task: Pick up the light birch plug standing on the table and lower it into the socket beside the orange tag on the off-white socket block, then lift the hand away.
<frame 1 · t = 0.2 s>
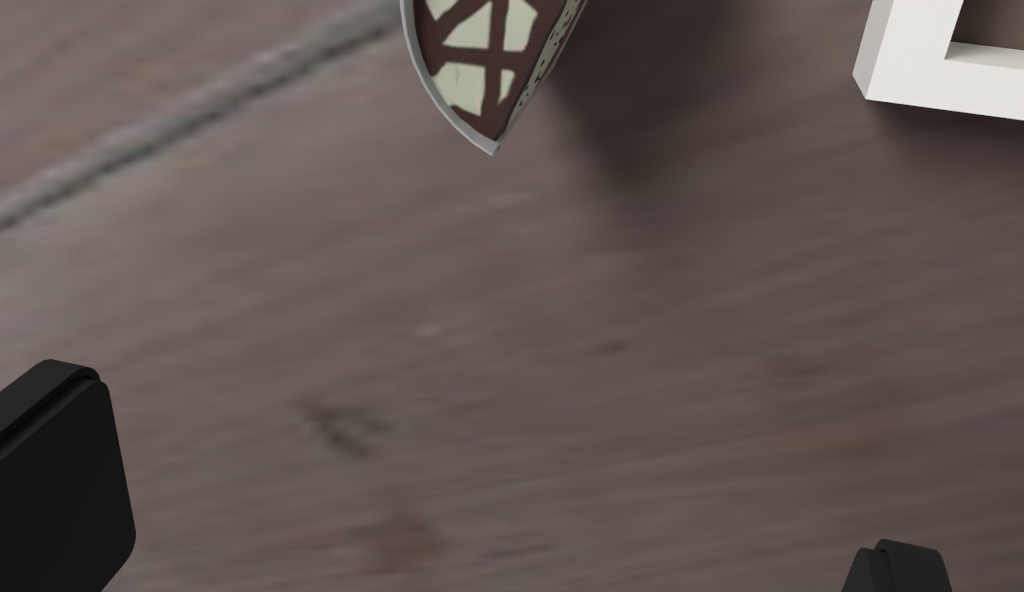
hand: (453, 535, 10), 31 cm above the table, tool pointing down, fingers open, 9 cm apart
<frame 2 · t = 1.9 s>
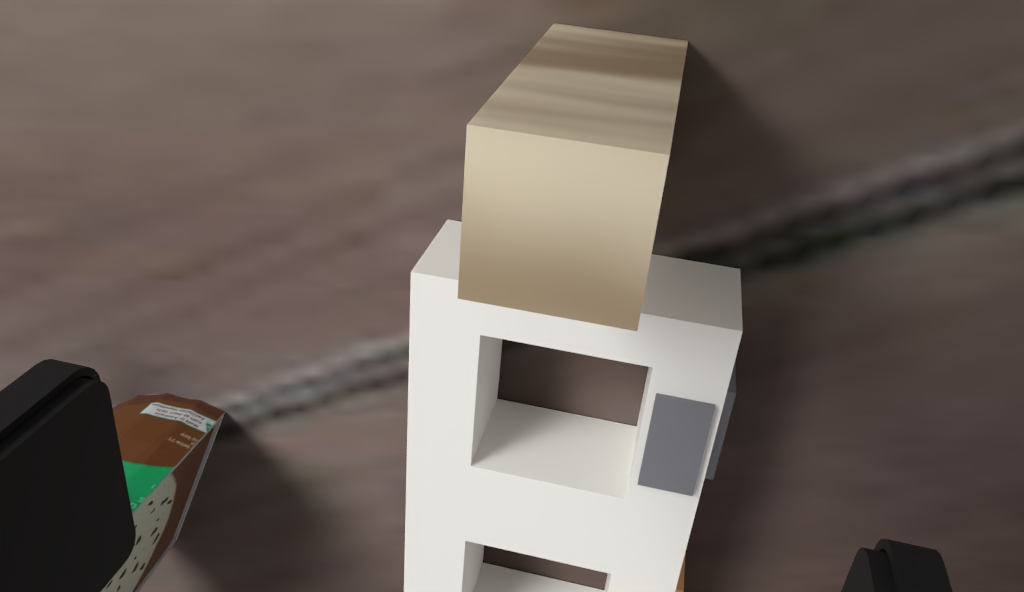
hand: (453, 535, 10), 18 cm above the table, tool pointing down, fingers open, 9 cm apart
food container: (141, 445, 38), on the table
plug: (610, 98, 26), on the table
socket block: (561, 448, 33), on the table
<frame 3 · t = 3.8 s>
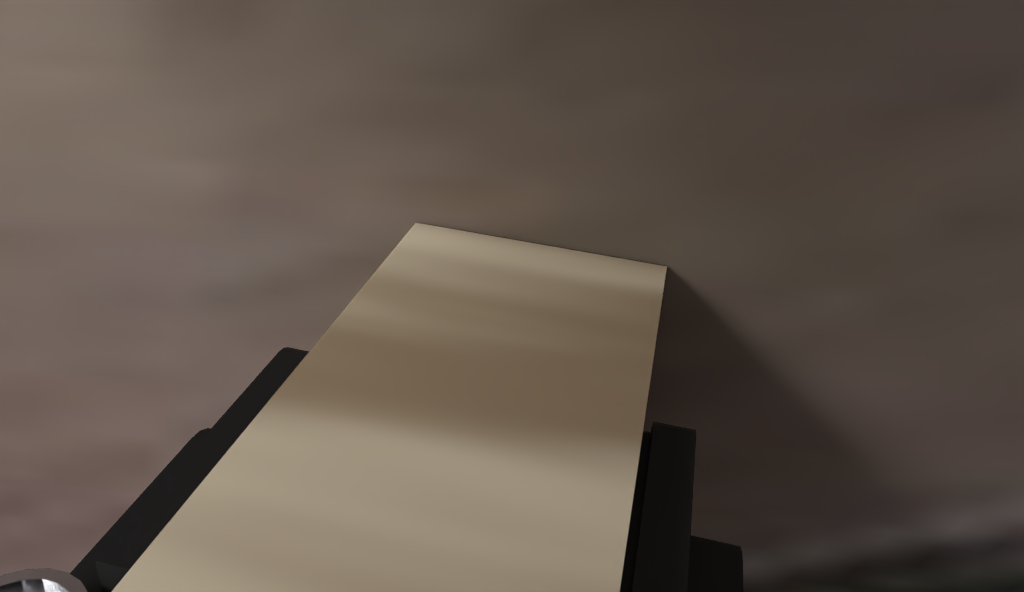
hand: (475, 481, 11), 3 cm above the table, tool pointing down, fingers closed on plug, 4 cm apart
plug: (526, 351, 14), on the table, touching gripper
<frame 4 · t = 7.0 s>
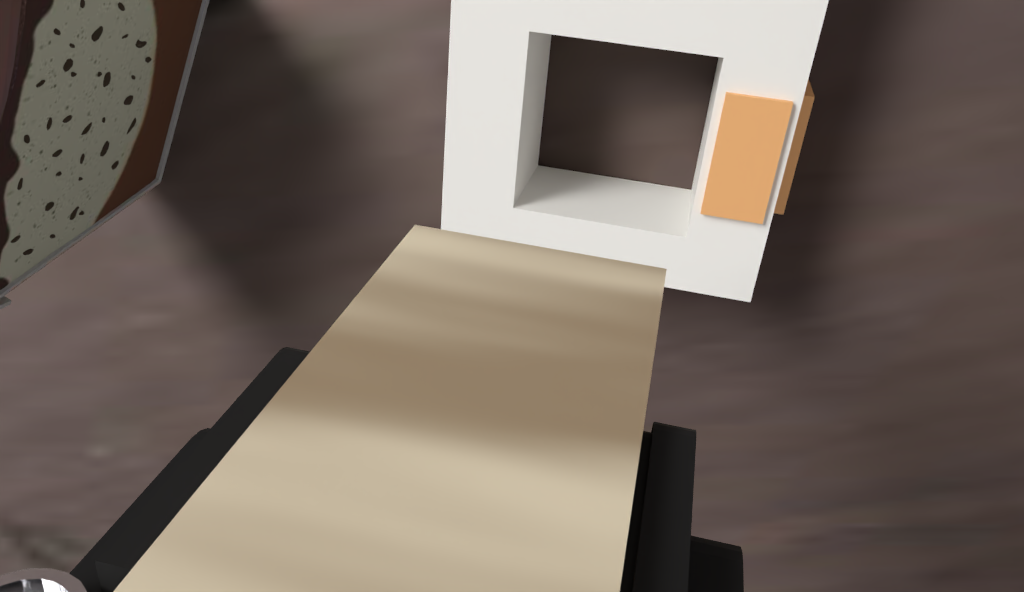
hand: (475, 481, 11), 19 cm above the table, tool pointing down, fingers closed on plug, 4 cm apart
food container: (117, 38, 31), on the table
plug: (526, 353, 14), point 16 cm above the table, touching gripper
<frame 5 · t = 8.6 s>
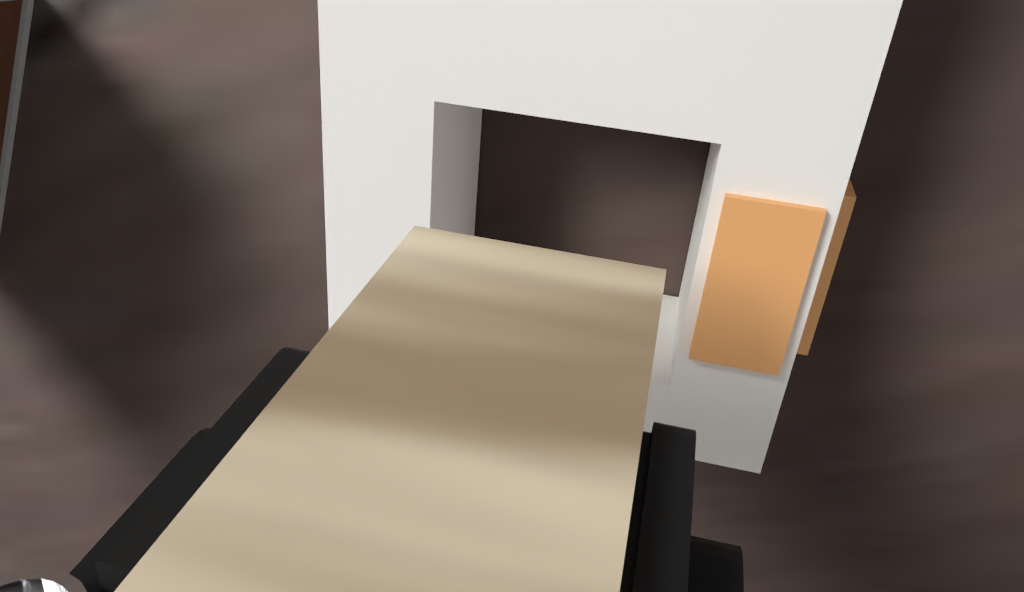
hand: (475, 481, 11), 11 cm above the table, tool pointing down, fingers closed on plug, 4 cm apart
plug: (525, 354, 14), point 7 cm above the table, touching gripper
when the fingers open (5 cm above the table, at t = 10.0 s): plug drops 2 cm, resting in socket block.
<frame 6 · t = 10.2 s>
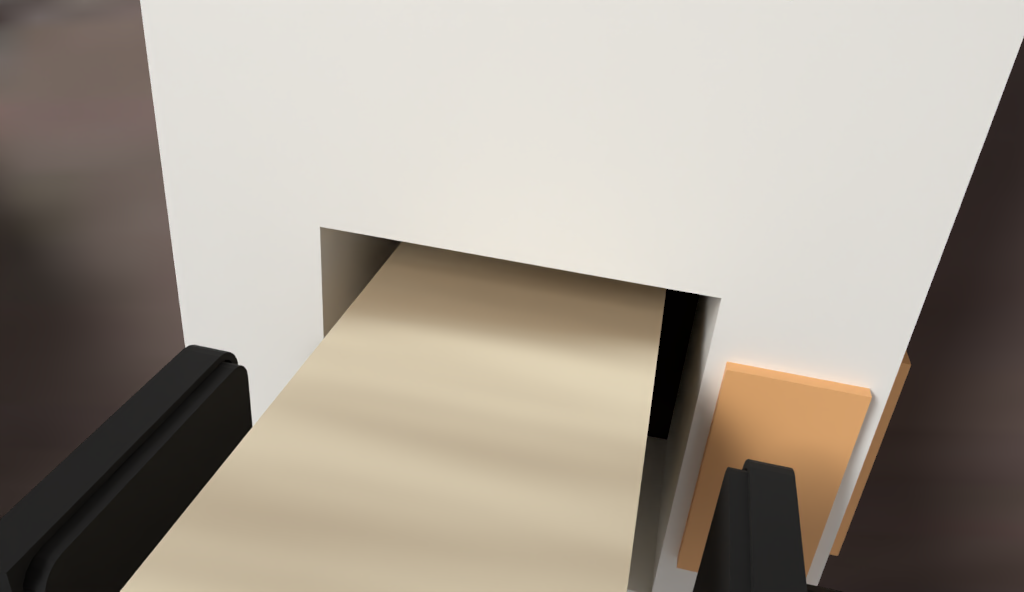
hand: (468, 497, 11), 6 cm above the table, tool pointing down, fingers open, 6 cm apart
plug: (551, 294, 16), resting in socket block
socket block: (577, 55, 13), on the table
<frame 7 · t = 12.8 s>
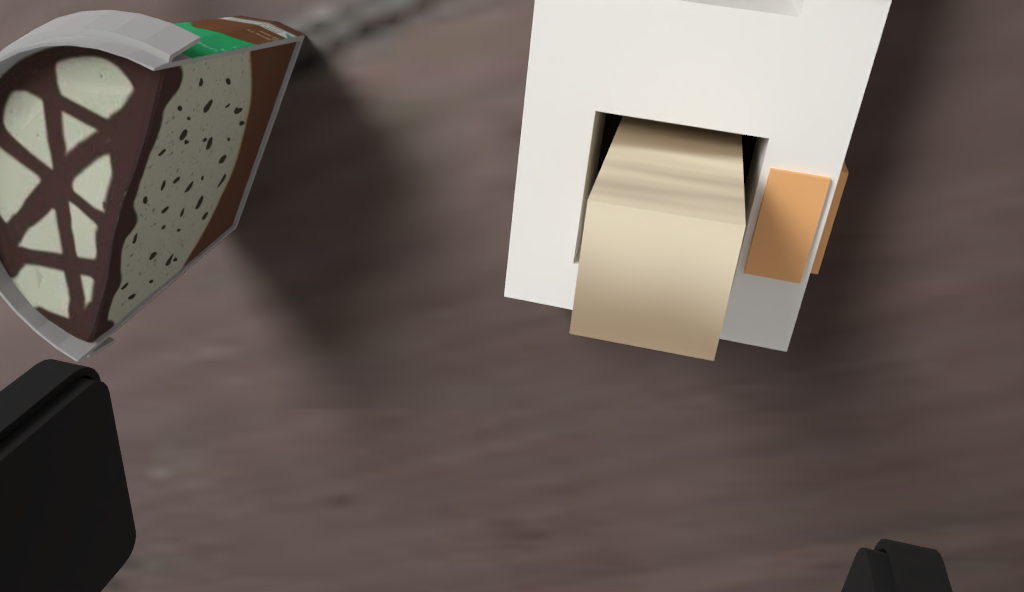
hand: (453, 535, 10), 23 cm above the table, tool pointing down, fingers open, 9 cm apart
food container: (205, 98, 34), on the table
plug: (674, 164, 31), resting in socket block
socket block: (697, 41, 29), on the table
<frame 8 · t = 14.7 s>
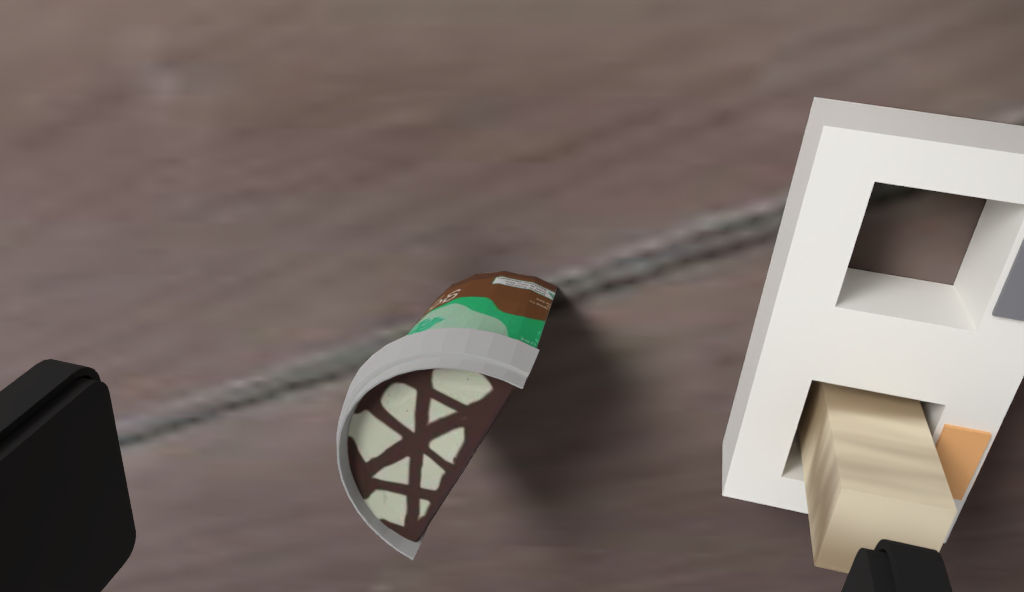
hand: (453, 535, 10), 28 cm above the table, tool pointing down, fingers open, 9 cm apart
food container: (464, 323, 43), on the table
plug: (849, 389, 40), resting in socket block
socket block: (876, 309, 38), on the table
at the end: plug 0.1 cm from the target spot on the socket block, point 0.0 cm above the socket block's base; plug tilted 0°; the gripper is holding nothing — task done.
